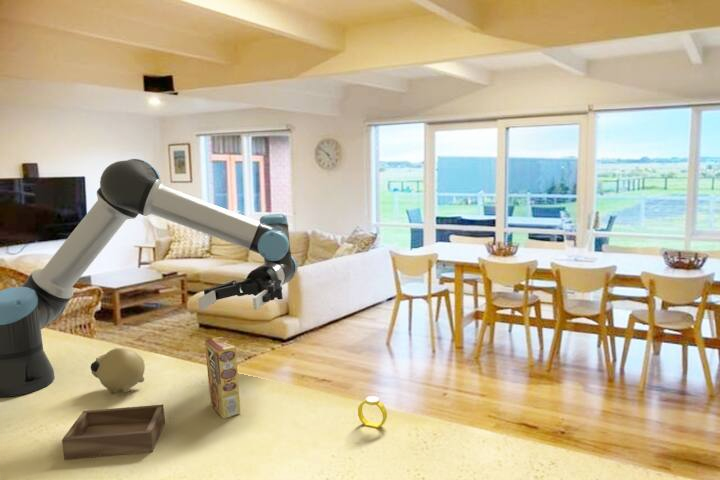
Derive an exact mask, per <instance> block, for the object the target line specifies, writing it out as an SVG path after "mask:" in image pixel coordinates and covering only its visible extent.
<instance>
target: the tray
mask: <svg viewBox="0 0 720 480" xmlns="http://www.w3.org/2000/svg"><path fill="white" fill-rule="evenodd" d="M164 406H165V405H164V404H154V405H141V406H140V405H139V406H127V407H116V408H104V409H102V408H101V409H91V410H90V409H89V410H83V411H82V412H81V413H80V414H79V416H78V418H77V419H76V420H75V422H74V423H73V424H72V425H71V427H69V430H68V431H67V433H66V434H64V436H63V437H62V438H61V446H62V453H63V460H64V461H65V460H75V459H86V458H97V457H98V458H99V457H109V456H120V455H132V454H133V455H134V454H144V453H153V452H154V449H155V447H156V444H157V443H158V439H159V437H160V435H161V433H162V430H163V428H164V426H165V423H166V420H165V419H166V418H165V407H164Z"/></svg>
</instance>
